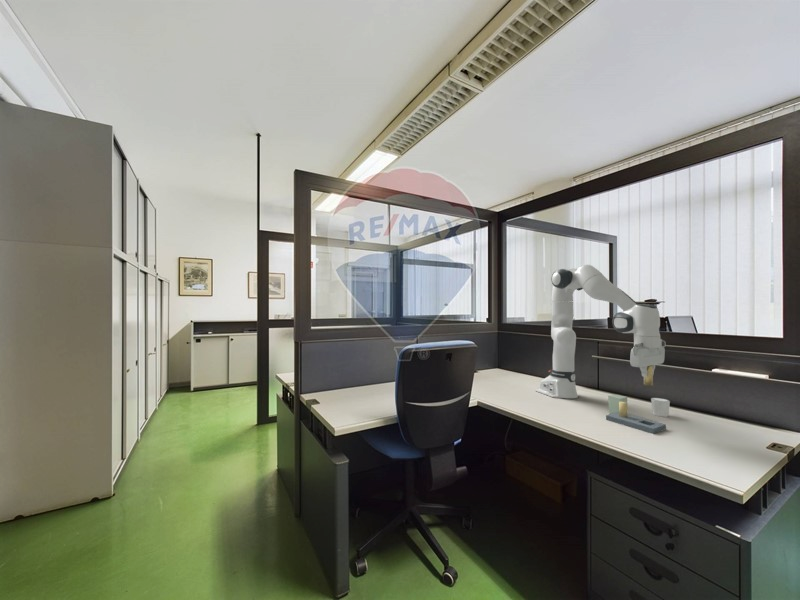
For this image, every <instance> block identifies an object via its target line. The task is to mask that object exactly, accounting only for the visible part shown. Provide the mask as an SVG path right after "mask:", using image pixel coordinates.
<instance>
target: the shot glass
mask: <svg viewBox="0 0 800 600" xmlns="http://www.w3.org/2000/svg"><path fill="white" fill-rule="evenodd" d="M650 402H651V408H652V414H653V415H654V416H658V417H665V418H667V417H669V415H670V403H671V401H670V400H669V399H666V398H661V397H660V398H659V397H651V398H650Z"/></svg>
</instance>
